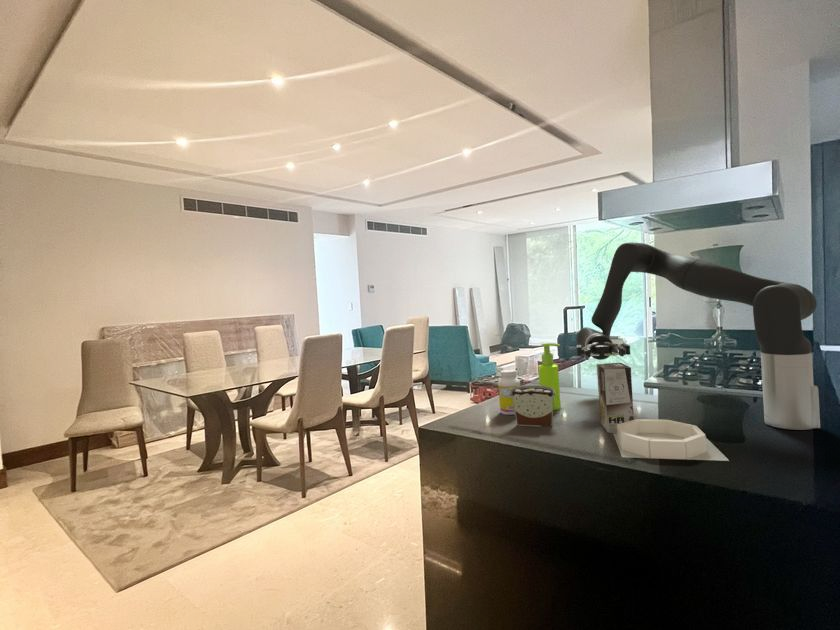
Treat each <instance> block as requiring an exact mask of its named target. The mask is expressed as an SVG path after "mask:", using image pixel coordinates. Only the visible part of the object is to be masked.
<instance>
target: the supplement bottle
mask: <svg viewBox="0 0 840 630" xmlns="http://www.w3.org/2000/svg"><path fill="white" fill-rule="evenodd" d="M500 376H501V378H500V379H499V380H498V382H497V386H498V398H499V409H500V410H499V411H500V413H501V414H503V415H508V416H511V415H513V416H515V411H514V405H513V400H512V396H510V391H511V389H512V388H515V387H519V386H521V380H520V379H519V378H517V370H515V369H504V370H501V371H500Z"/></svg>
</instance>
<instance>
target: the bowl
mask: <svg viewBox="0 0 840 630" xmlns="http://www.w3.org/2000/svg"><path fill="white" fill-rule="evenodd" d="M617 434H618V441H619V444H620V447H621V449H622V450H625V451H628V452H632V453H635V454H638V455H642V456H645V457H648V458H647V459H657V458H664V459H663V460H665V459H666V460H687V459H689V458H692V457H694V456H697V455H700V454H702V453H705V452H707V451H706V438H707V436H706V433H704V432H703V431H702V430H701V429H700V428H699V427H698V426H697V425H694V424H690V423H685V422H681V421H680V422H679V421H676V420H671V419H660V418H659V419H653V418H652V419H651V418H650V419H649V418H646V419H644V418H642V419H641V418H640V419H639V418H636V419H635V418H634V420H632V421H628V422H624V423H621V424H617ZM650 457H651V458H650Z"/></svg>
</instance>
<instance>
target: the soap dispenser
mask: <svg viewBox="0 0 840 630" xmlns="http://www.w3.org/2000/svg"><path fill="white" fill-rule="evenodd" d="M559 346H561V344H559V343H555V342H550V343H549V342H547V343H542V344H541V347H543V351H544V352H543V354H541V363H542V364H540V365H538V368H537V369H538V383H539V384H538V385H540V386H548V387H552V388H553V389H554V391H555V394H556V398H555V395H554V399H553V411H555V410H560V409H561V407H562V405H561V390H560V389H561V388H560V379H559V377H560V376H559V364H555V363H554V353H552V352H551V349H550V347H557V348H558V347H559Z"/></svg>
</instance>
